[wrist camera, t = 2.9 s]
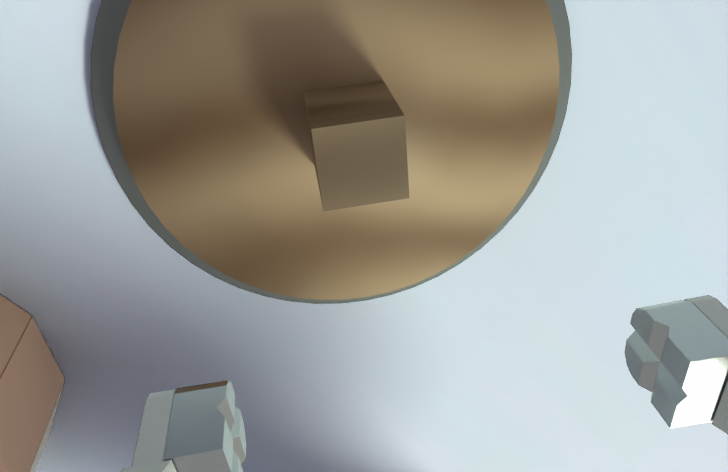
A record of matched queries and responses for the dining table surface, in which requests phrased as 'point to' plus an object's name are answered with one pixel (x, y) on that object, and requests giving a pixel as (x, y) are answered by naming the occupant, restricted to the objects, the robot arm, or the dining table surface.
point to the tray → (102, 95)
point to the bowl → (25, 390)
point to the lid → (334, 132)
